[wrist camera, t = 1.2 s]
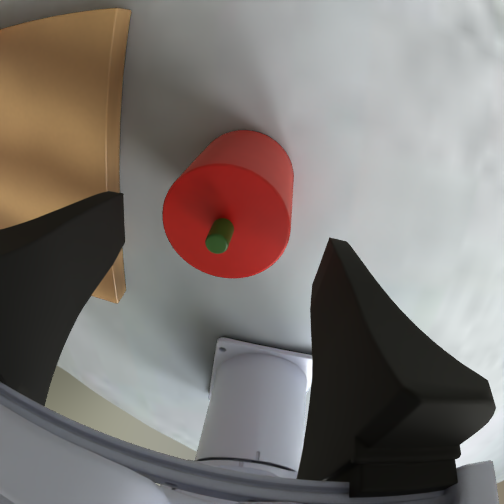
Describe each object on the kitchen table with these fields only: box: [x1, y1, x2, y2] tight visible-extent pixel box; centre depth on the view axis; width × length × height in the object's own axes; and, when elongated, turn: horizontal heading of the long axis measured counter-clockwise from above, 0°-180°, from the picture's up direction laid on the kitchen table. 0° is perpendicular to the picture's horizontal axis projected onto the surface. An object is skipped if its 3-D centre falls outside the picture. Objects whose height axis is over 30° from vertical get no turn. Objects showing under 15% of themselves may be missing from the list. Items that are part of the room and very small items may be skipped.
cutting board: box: [0, 8, 131, 304], centre depth 16 cm, size 18×14×2 cm
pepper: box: [162, 130, 294, 278], centre depth 13 cm, size 5×5×6 cm
